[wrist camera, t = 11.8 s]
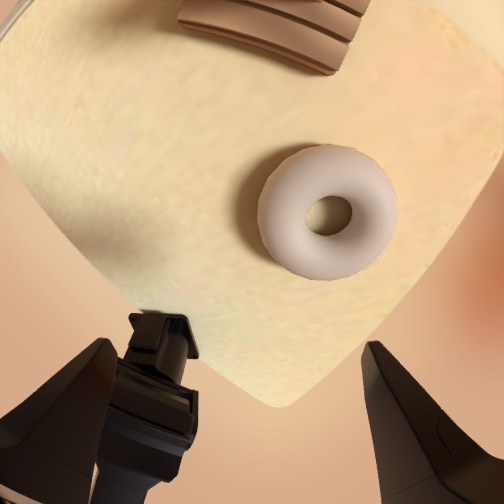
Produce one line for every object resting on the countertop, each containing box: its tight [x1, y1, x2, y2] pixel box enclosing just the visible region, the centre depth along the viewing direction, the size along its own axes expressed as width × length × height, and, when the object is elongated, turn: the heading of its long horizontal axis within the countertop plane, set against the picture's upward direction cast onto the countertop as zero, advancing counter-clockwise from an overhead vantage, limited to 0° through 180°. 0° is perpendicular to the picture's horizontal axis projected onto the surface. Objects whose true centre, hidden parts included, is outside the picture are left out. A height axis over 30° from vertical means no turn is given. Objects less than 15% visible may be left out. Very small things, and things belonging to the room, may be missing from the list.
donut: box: [257, 144, 398, 281], centre depth 18 cm, size 10×4×10 cm
